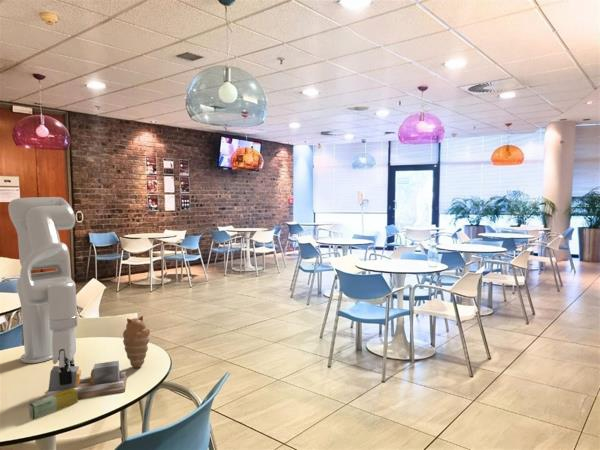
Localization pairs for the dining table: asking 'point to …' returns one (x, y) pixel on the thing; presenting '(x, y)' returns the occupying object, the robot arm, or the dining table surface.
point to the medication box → (52, 403)
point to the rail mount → (99, 381)
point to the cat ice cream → (136, 341)
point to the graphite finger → (55, 382)
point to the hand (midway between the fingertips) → (67, 379)
